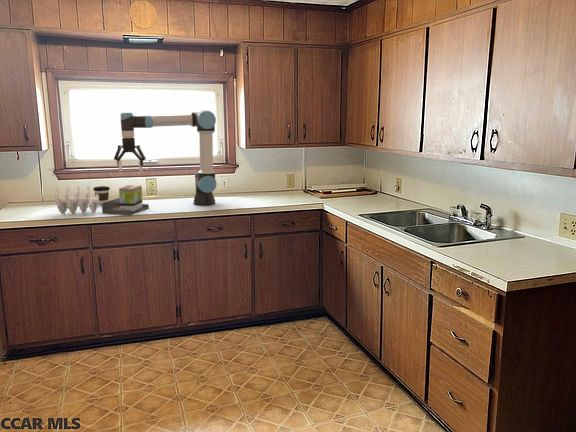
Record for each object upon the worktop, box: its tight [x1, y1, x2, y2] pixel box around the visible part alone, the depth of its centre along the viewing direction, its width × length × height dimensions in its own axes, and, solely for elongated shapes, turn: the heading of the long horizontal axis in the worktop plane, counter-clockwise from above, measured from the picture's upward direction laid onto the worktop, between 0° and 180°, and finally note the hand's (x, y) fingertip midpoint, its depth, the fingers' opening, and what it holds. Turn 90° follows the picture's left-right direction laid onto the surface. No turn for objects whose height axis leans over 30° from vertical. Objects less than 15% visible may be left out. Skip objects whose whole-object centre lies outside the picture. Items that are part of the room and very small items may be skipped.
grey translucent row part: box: [54, 185, 99, 216], centre depth 301 cm, size 18×18×25 cm
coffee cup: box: [92, 185, 110, 206], centre depth 332 cm, size 11×11×12 cm
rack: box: [101, 197, 150, 216], centre depth 311 cm, size 20×22×7 cm
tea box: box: [118, 184, 144, 211], centre depth 309 cm, size 15×10×15 cm, turn 178°
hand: (130, 171), depth 305 cm, fingers open, 13 cm apart
